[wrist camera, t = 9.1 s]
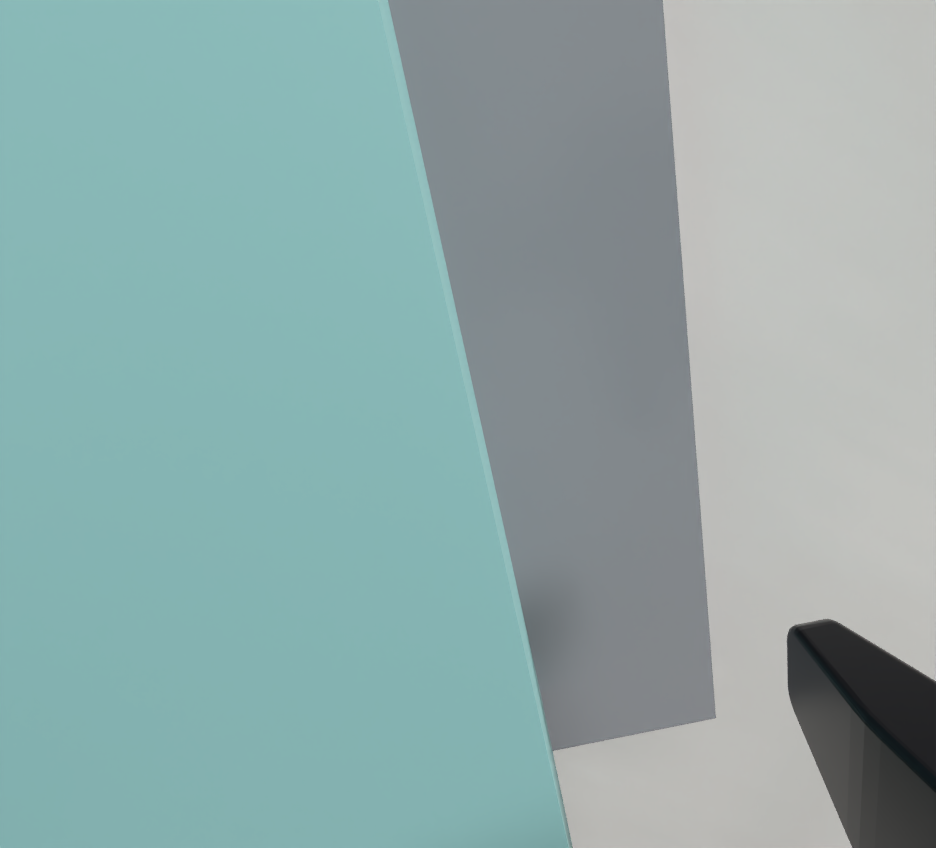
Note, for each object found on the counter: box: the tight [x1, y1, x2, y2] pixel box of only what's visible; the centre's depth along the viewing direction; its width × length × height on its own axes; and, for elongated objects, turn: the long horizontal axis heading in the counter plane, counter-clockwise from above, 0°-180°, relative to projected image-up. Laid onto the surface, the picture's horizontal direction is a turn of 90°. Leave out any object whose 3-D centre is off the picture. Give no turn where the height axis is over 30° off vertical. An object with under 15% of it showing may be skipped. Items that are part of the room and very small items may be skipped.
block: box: [0, 0, 573, 848], centre depth 7 cm, size 12×4×5 cm, turn 11°
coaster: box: [388, 0, 716, 751], centre depth 10 cm, size 14×9×1 cm, turn 11°
